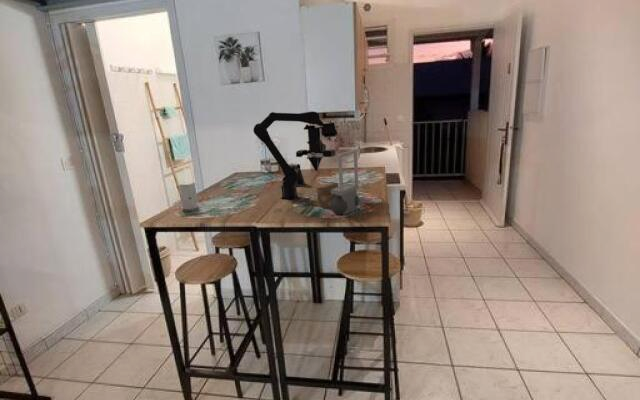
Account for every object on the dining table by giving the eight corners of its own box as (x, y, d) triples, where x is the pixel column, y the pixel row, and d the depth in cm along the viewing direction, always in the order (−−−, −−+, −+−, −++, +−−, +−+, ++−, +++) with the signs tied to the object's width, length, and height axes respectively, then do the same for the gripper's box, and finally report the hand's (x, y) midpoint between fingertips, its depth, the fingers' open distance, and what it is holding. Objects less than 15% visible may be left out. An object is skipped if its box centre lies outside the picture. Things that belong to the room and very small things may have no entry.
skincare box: (182, 209, 162) (177, 184, 159) (188, 206, 166) (184, 182, 163) (193, 209, 160) (188, 184, 157) (199, 206, 164) (195, 182, 161)
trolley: (330, 213, 141) (326, 153, 134) (346, 206, 149) (343, 149, 143) (344, 216, 137) (340, 154, 130) (360, 208, 145) (358, 149, 138)
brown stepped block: (309, 205, 155) (308, 185, 152) (323, 199, 162) (322, 181, 160) (338, 210, 145) (336, 189, 142) (351, 204, 152) (350, 184, 149)
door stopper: (295, 187, 190) (293, 165, 187) (286, 186, 193) (284, 165, 190) (305, 183, 197) (303, 162, 194) (296, 182, 200) (294, 162, 197)
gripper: (338, 136, 167) (340, 167, 171) (304, 137, 175) (307, 167, 179) (329, 139, 157) (331, 172, 161) (294, 139, 165) (296, 171, 169)
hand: (316, 170), depth 168 cm, fingers closed
